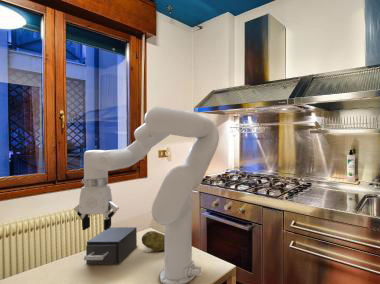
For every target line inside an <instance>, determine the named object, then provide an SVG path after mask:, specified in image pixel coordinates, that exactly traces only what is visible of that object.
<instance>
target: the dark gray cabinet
mask: <svg viewBox="0 0 380 284" xmlns="http://www.w3.org/2000/svg"><path fill="white" fill-rule="evenodd" d="M137 233H138V231H137V227H136V226H135V227H132V226H131V227H121V226H119V227H117V226H116V227H112V226H111V227H110V228H109V229H107V230H102V231H101V232H100V233H98V234H97V235H95V236H93V237H92V238H91V239H89V240H86V245H88V244H117V263H116V264H115V265H120V264H121V263H122V262H123V261H124V260H125V259H126V258H127V257H128V256H129V255H130V254H132V253H133V251H134V250H136V248H138V247H137V245H138V244H137V243H138V242H137V241H138V240H137V239H138V238H137V235H138V234H137Z"/></svg>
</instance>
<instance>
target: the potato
mask: <svg viewBox="0 0 380 284" xmlns="http://www.w3.org/2000/svg"><path fill="white" fill-rule="evenodd" d="M164 235H165V234H164V233H161V232H158V231H155V230H149V231H147V232H145V233H143V235H142V237H141V242H142V244H143V246H144V247H146V248H147V249H150V250H152V251H154V252H161V251H165V245H164Z"/></svg>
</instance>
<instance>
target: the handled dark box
mask: <svg viewBox="0 0 380 284" xmlns="http://www.w3.org/2000/svg"><path fill="white" fill-rule="evenodd" d="M85 249H86V251H85V252H86V255H85V256H84V257H83V260H84V261H86V262H85V263H86V265H117V264H116V263H117V244H88V245H87V244H86V246H85Z"/></svg>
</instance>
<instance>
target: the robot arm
mask: <svg viewBox="0 0 380 284" xmlns="http://www.w3.org/2000/svg"><path fill="white" fill-rule="evenodd" d="M170 135H171V136H177V137H183V138H191V139H192V138H193V139H195V140H194V142H193V144H192V145H191V147H190V149H189V151H188V153H187V155H186V157H185V159H184V161H183V162H182V164H180V165H177V166H174V167H173V168H171V169H170V171H168V173H167V174H166V175H165V177H164V178H163V180H162V183H161V186H160V187H159V189H158V191H157V194H156V196H155V198H154V200H153V203H152V206H151V217H152V218H153V221H155V222H156V223H157V224H158V225H161V226H164V233H163V235H164V245H165V250H164V269H163V270H162V271H161V272H160V274H159V280H160V283H162V284H187V283H189V282H190V281H192V280H194V278H195V277H200V276H201V275H202V267H201V266H200V265H195V260H193V242H192V241H193V213H194V205H195V202H194V197H193V193H192V191H194V190H196V189H197V188H198V187H200V185H201V184H202V182H203V180H204V178H205V175H206V173H207V171H208V169H209V166H210V165H211V162H212V159H213V158H214V155H215V153H216V151H217V148H218V146H219V142H220V141H219V140H220V135H219V129H218V127H217V126H216V124H215V121H213V120H212V118H210V117H209V116H207V115H205V114H202V113H199V112H195V111H193V110H192V111H191V110H185V109H178V108H170V107H165V106H160V105H159V106H154V107H151V108H150V109H148V110H147V111H146V113H145V114H144V123H143V124H141V125H140V126H139V127H137V128H136V129H135V130H134V132H133V137H134V138H135V141H133V142H132V143H131V144H129V145H128V146H126V147H124V148H117V149H108V150H103V149H92V150H91V149H90V150H86V151H84V153H83V179H82V180H81V181H80V182H81V184H83V186H82V187H81V189H80V192H79V193H80V194H79V198H78V199H79V200H78V205H76V206H75V207H74V208H73V210H74V212H75V213H76V215H77V216H78V217H79V219H80V220H81V227H82V229H81V230H82V231H86V230H87V229H89V228H90V227H91V218H90V215H102V216H103V217H104V218H105V219H103V231H105V230H107V229H109V228H111V227H112V218H113V217H114V216H115V214H117V211H119V209H120V206H118V205H117V204H115V203H114V202H113V196H112V189H111V186H110V184H109V172H110V171H111V172H112V171H116V170H117V171H118V170H120V169H127V168H130V167H131V166H134V165H135V164H137V163H138V162H140V161H141V160H142V159H144V158H145V157H146V156H147V155H148V154H149V152H150V151H151V150H152V149H153V147H155V146H156V145H157V144H159V143H160V142H162V141H163V140H165V139H166V138H168V137H169V136H170Z"/></svg>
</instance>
